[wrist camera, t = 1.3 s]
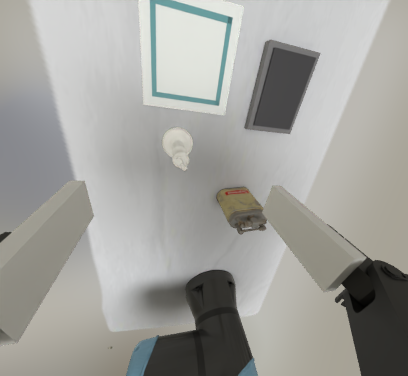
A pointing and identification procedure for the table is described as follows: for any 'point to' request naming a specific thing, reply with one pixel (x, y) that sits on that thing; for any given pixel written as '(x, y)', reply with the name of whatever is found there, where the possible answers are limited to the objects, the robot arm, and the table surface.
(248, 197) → the lighter
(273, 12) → the table surface
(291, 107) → the ink pad
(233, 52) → the print card
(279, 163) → the table surface
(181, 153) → the chess piece
